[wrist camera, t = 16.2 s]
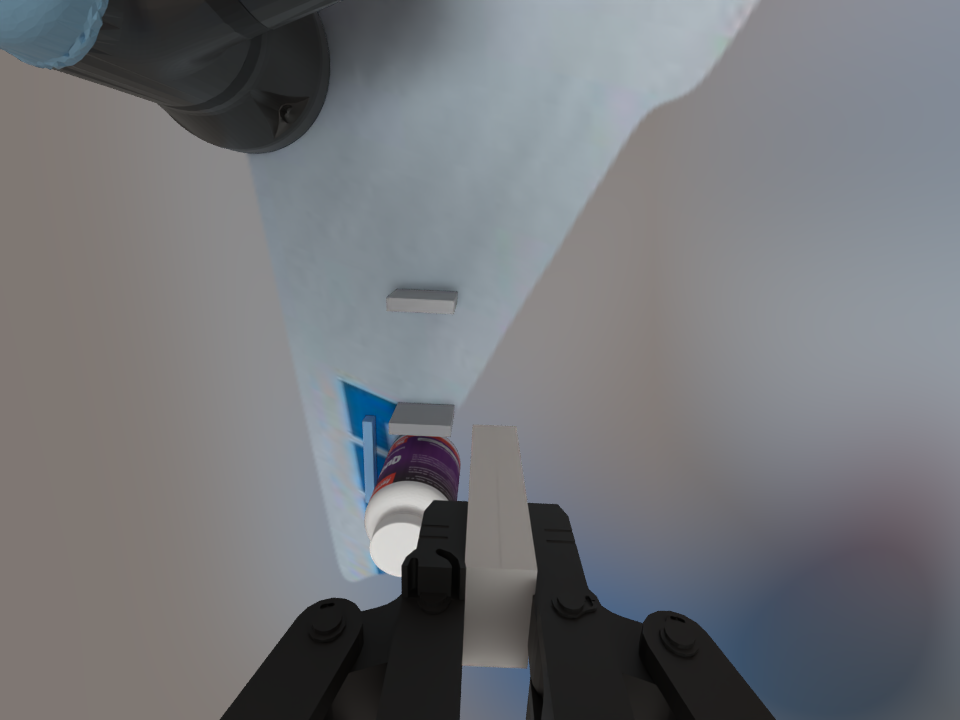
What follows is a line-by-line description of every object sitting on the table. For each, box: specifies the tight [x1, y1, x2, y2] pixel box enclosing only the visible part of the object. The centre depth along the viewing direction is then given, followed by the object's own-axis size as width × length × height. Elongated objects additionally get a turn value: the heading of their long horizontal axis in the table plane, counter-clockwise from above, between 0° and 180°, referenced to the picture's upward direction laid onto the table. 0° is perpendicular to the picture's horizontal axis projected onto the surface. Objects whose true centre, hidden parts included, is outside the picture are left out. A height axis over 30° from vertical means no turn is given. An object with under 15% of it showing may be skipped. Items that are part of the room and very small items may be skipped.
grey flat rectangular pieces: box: [363, 289, 458, 503], centre depth 46 cm, size 10×26×5 cm, turn 177°
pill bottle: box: [365, 435, 460, 577], centre depth 43 cm, size 8×8×14 cm
